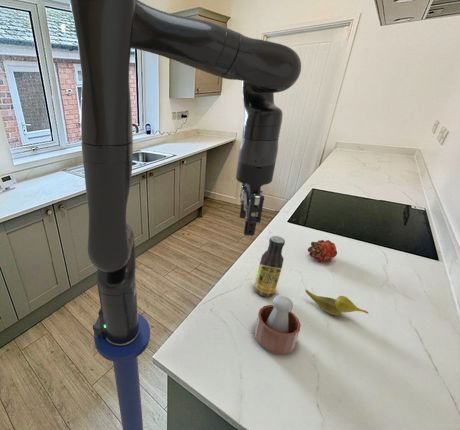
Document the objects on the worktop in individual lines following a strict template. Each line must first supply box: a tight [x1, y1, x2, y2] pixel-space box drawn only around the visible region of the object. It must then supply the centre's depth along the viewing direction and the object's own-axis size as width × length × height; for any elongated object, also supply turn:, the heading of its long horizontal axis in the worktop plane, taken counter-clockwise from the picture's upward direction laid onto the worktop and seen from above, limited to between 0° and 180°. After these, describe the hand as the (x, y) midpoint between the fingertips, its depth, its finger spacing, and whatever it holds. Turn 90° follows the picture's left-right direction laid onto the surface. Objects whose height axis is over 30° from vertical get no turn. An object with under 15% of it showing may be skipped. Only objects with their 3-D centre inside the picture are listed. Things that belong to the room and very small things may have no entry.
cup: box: [254, 304, 302, 356], centre depth 68 cm, size 10×10×7 cm
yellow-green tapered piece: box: [304, 289, 370, 316], centre depth 75 cm, size 4×15×6 cm, turn 47°
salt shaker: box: [265, 294, 294, 334], centre depth 66 cm, size 6×6×13 cm
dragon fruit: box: [307, 239, 338, 263], centre depth 97 cm, size 8×8×12 cm
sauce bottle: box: [253, 235, 286, 298], centre depth 80 cm, size 7×6×20 cm
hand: (246, 225), depth 63 cm, fingers open, 8 cm apart
